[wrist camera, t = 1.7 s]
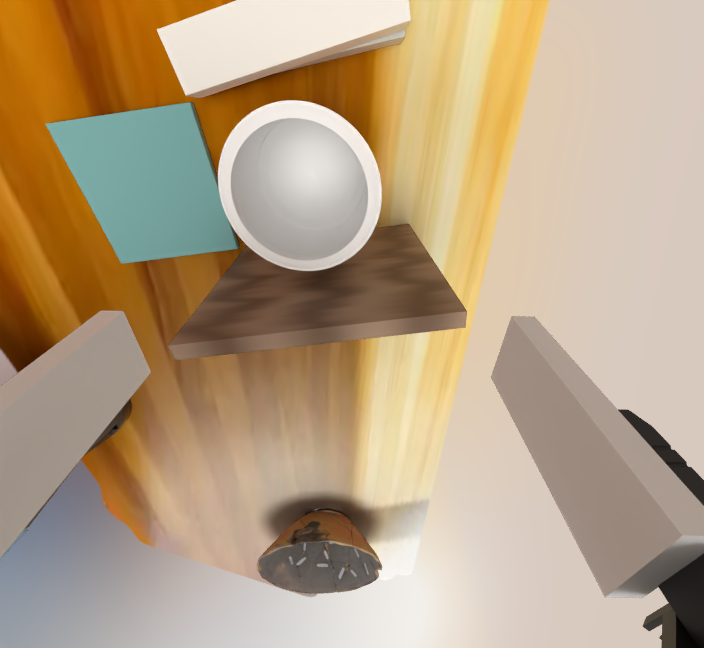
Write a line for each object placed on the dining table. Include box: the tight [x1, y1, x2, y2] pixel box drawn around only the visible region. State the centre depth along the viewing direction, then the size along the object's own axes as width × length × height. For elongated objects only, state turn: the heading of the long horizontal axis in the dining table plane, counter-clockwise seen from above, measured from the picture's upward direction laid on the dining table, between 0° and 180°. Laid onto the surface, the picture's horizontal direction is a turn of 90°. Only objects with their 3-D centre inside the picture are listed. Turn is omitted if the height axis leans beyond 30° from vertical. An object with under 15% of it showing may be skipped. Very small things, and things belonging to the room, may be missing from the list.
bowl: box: [257, 510, 382, 593], centre depth 67 cm, size 25×25×10 cm
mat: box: [46, 102, 239, 264], centre depth 33 cm, size 14×14×1 cm
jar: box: [218, 100, 382, 271], centre depth 27 cm, size 11×10×15 cm
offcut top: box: [157, 0, 411, 98], centre depth 24 cm, size 18×4×3 cm, turn 104°
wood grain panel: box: [168, 224, 467, 360], centre depth 30 cm, size 19×7×20 cm, turn 97°
